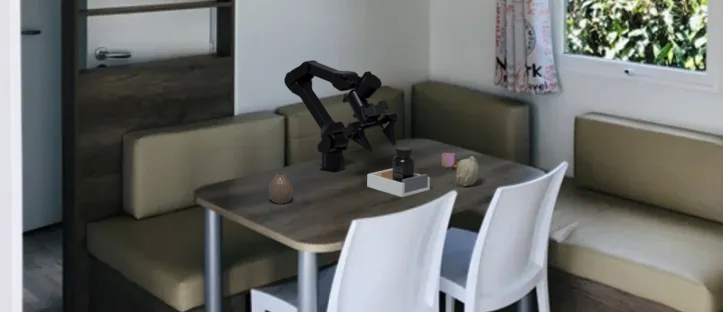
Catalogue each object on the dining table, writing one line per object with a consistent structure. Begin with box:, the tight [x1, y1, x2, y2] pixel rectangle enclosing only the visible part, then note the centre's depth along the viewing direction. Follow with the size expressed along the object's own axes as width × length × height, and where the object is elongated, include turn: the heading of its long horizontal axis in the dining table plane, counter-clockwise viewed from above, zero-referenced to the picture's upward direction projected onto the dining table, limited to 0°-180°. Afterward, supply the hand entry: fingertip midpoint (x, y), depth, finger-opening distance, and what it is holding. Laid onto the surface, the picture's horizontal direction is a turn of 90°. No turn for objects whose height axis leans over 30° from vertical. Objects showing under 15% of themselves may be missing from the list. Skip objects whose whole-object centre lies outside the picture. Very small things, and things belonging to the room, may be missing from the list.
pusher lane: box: [366, 167, 431, 198], centre depth 299 cm, size 15×12×5 cm
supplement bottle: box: [392, 146, 416, 183], centre depth 296 cm, size 7×7×12 cm
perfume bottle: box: [441, 152, 460, 171], centre depth 326 cm, size 12×12×4 cm
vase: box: [268, 172, 294, 205], centre depth 283 cm, size 7×7×9 cm
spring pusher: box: [377, 168, 393, 180], centre depth 302 cm, size 3×9×4 cm, turn 133°
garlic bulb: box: [455, 155, 480, 187], centre depth 303 cm, size 9×8×10 cm
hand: (383, 148), depth 302 cm, fingers open, 9 cm apart
